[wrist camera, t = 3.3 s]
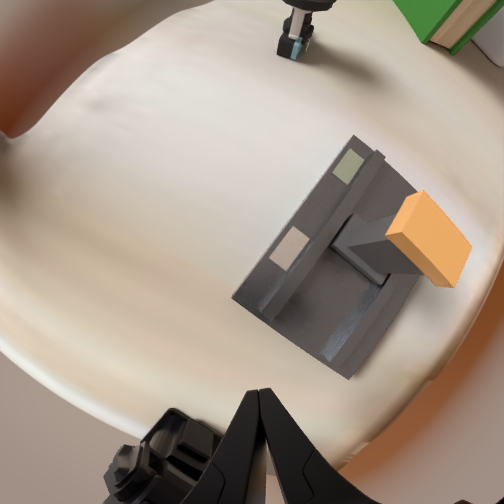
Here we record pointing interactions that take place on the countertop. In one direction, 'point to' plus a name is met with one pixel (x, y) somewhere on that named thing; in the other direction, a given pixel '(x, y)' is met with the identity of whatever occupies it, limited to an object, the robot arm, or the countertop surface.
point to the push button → (299, 26)
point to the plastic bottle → (492, 38)
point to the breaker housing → (331, 265)
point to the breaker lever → (406, 243)
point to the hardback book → (448, 19)
